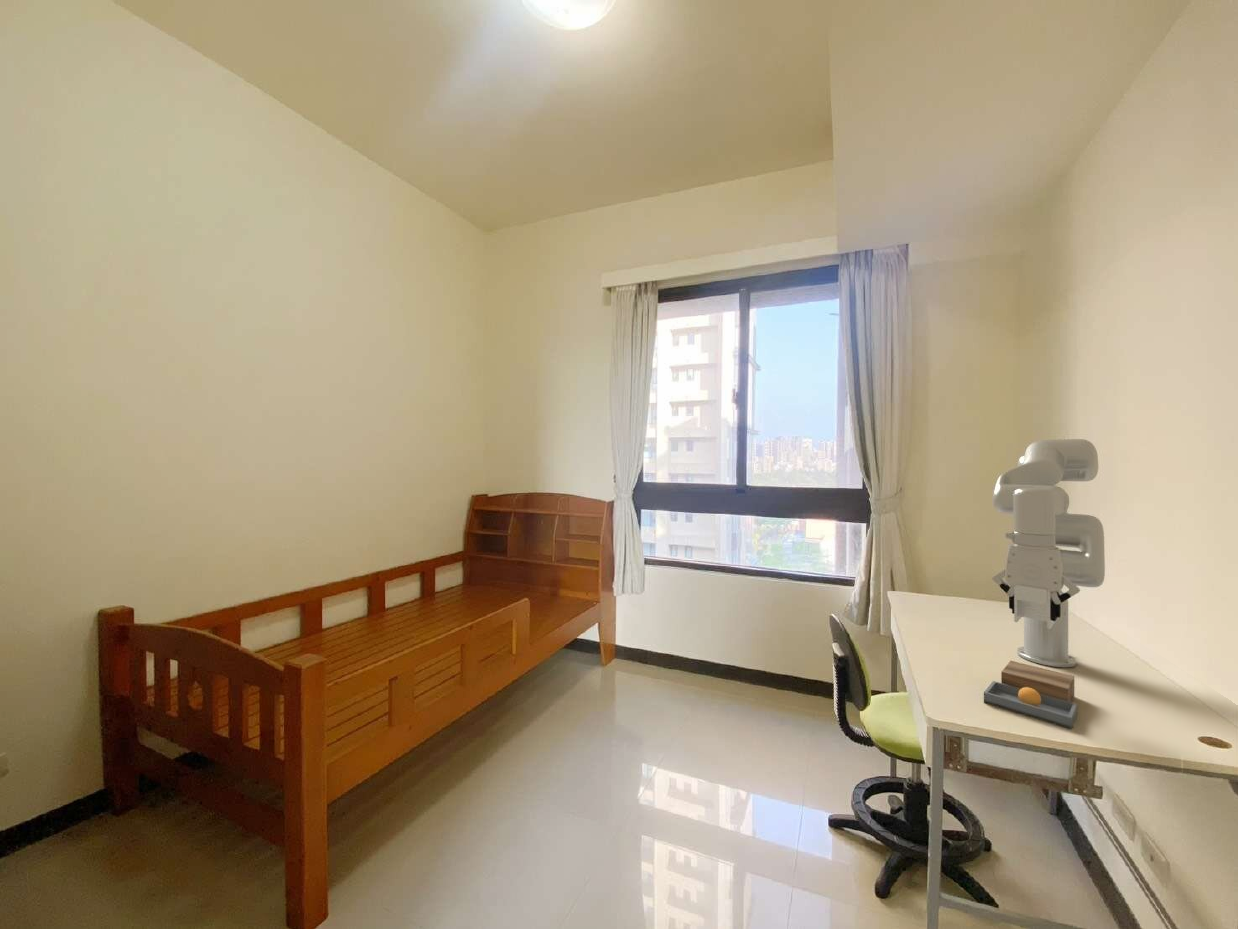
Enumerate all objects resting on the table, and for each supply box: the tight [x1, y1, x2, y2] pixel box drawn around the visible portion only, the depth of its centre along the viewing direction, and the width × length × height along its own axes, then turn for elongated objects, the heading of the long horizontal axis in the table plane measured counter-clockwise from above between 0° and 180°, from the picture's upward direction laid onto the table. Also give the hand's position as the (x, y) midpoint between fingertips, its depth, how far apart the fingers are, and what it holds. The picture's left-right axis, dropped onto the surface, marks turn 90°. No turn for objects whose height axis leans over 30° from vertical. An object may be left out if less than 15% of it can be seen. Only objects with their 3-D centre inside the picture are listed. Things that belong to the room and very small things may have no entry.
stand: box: [1000, 660, 1075, 703], centre depth 116 cm, size 10×12×5 cm
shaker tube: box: [1013, 585, 1055, 629], centre depth 114 cm, size 6×6×9 cm
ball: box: [1018, 687, 1041, 706], centre depth 110 cm, size 4×4×4 cm
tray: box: [983, 680, 1078, 730], centre depth 110 cm, size 9×15×2 cm, turn 41°
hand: (1034, 615), depth 114 cm, fingers closed on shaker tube, 6 cm apart
